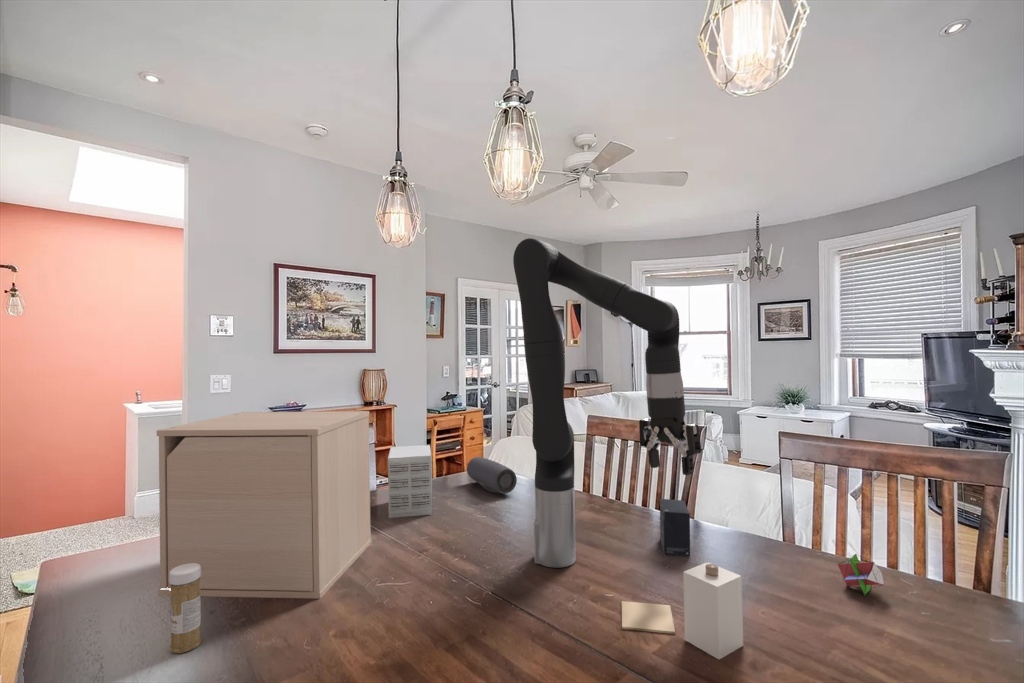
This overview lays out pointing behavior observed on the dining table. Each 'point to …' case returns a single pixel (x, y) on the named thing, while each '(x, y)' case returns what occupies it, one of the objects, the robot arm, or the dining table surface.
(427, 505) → the supplement box
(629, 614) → the coaster
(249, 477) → the cabinet
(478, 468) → the bluetooth speaker
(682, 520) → the small box
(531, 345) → the robot arm
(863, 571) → the geometric puzzle
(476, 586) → the dining table surface
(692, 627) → the white knobbed pillar
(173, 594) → the sprinkles bottle
